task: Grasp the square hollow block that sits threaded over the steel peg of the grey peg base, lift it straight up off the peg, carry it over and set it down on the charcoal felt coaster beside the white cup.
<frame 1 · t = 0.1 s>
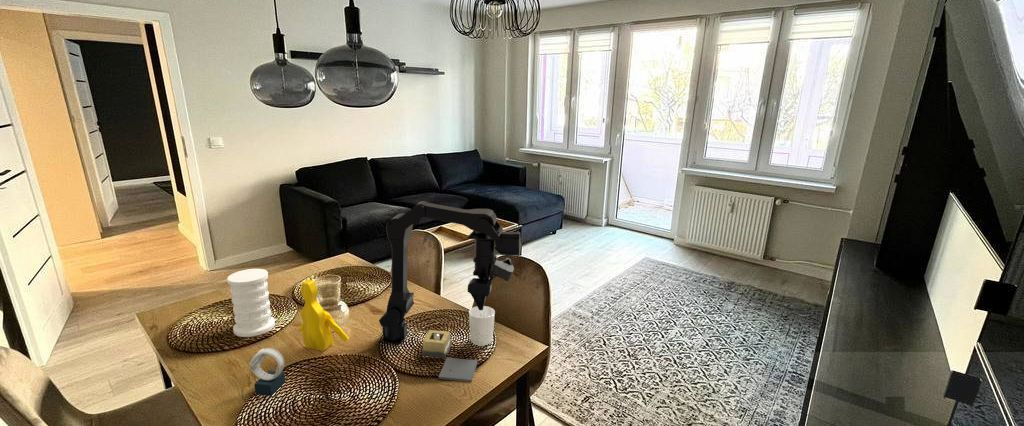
hand: (483, 302, 129), 15 cm above the table, tool pointing down, fingers open, 9 cm apart
white ring sculpture: (270, 389, 111), on the table
white cup: (481, 341, 136), on the table
decorative container: (254, 328, 139), on the table
figure statuette: (320, 347, 130), on the table
grey peg base: (436, 351, 129), on the table
square hollow block: (436, 345, 129), point 2 cm above the table, touching grey peg base
felt coaster: (458, 370, 121), on the table
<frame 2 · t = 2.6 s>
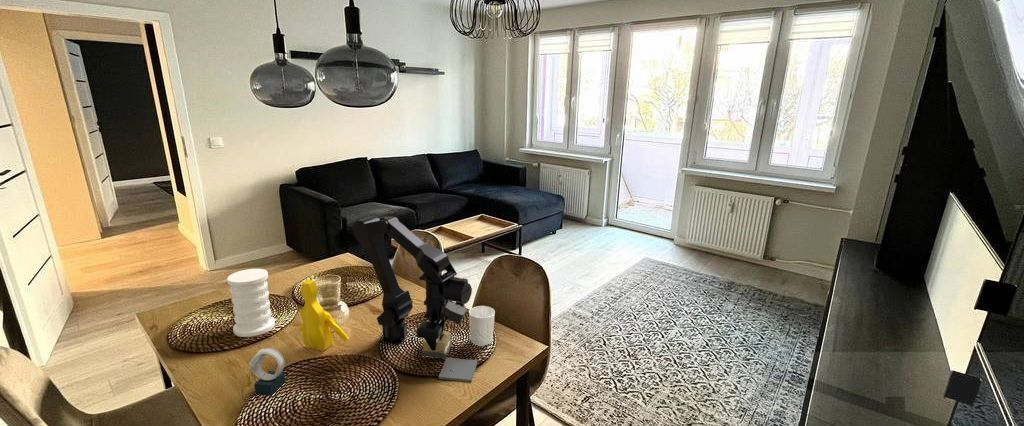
hand: (436, 343, 129), 3 cm above the table, tool pointing down, fingers closed on square hollow block, 6 cm apart
square hollow block: (436, 345, 129), point 2 cm above the table, touching gripper, grey peg base
everything else where it was.
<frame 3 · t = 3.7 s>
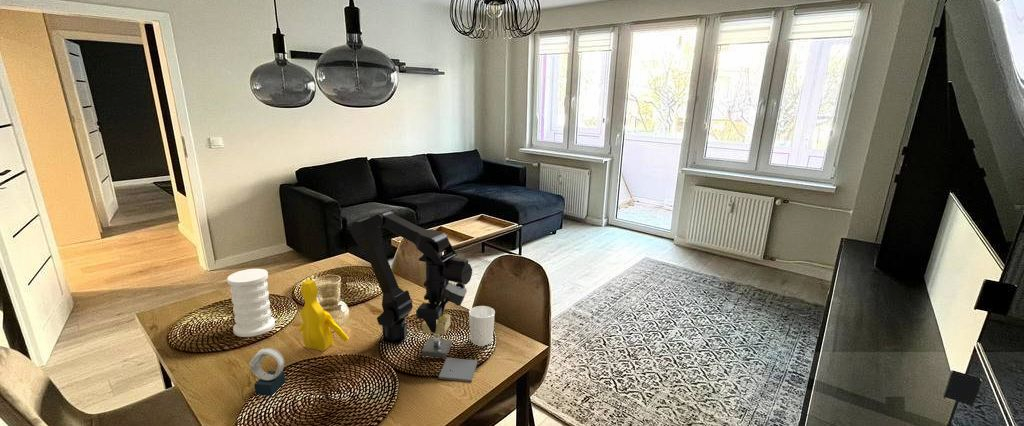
hand: (436, 326, 127), 8 cm above the table, tool pointing down, fingers closed on square hollow block, 6 cm apart
square hollow block: (436, 328, 127), point 8 cm above the table, touching gripper
everything else where it was.
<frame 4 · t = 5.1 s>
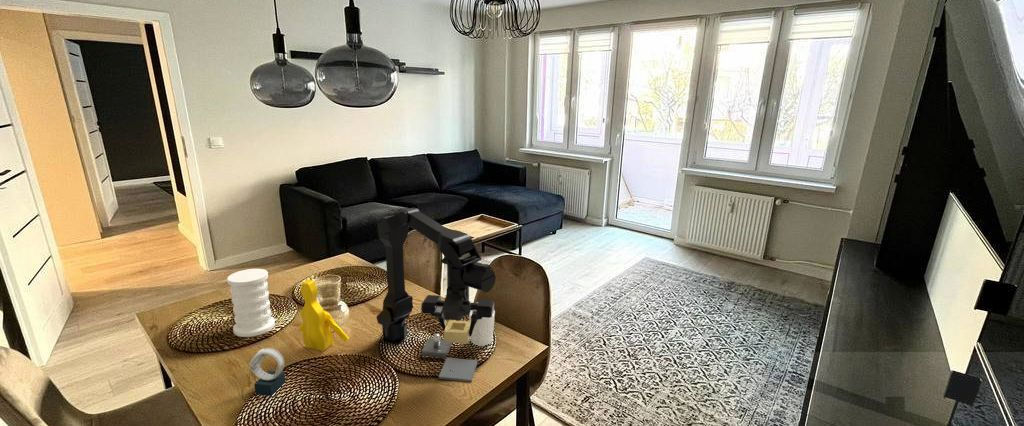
hand: (458, 334, 118), 11 cm above the table, tool pointing down, fingers closed on square hollow block, 6 cm apart
square hollow block: (458, 336, 118), point 11 cm above the table, touching gripper
everything else where it was.
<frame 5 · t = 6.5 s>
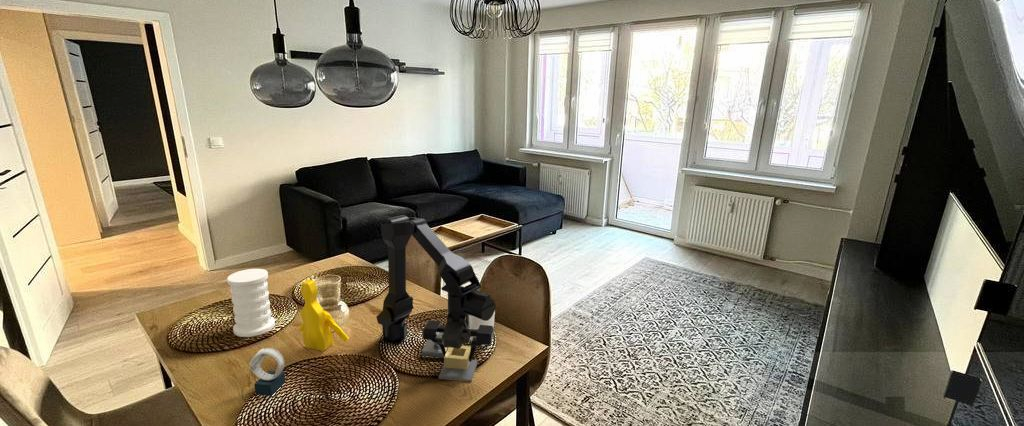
hand: (458, 359, 120), 3 cm above the table, tool pointing down, fingers closed on square hollow block, 6 cm apart
square hollow block: (458, 361, 120), point 3 cm above the table, touching gripper
everything else where it was.
when the fingers open (2 cm above the table, at t = 7.6 s): square hollow block drops 1 cm, resting on felt coaster.
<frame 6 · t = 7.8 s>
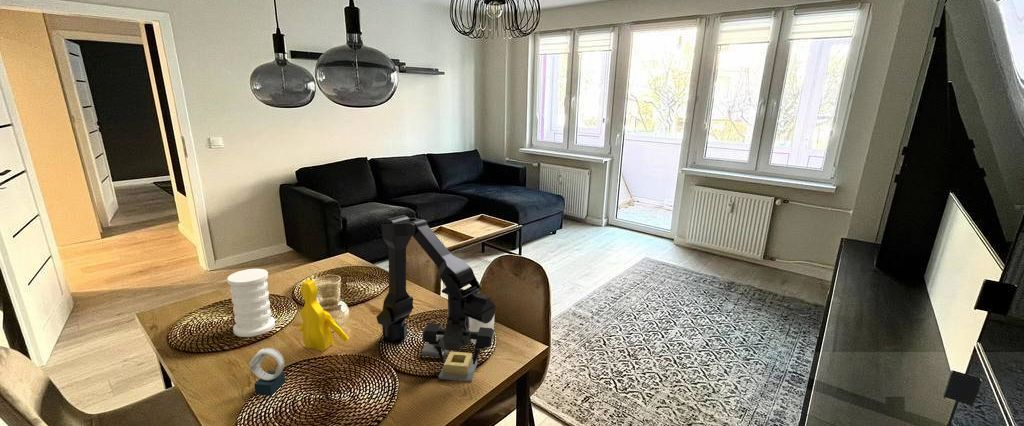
hand: (458, 362, 120), 2 cm above the table, tool pointing down, fingers open, 8 cm apart
square hollow block: (458, 368, 121), point 1 cm above the table, touching felt coaster
everything else where it was.
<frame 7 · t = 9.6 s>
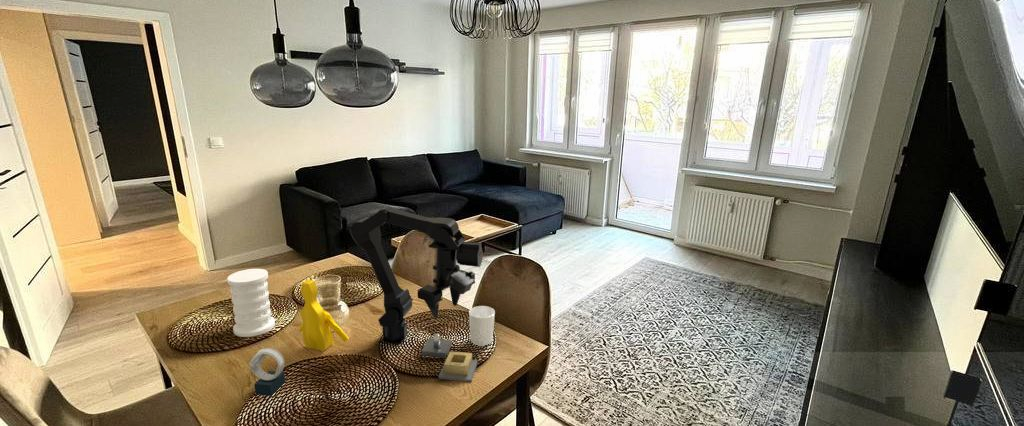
hand: (445, 311, 130), 11 cm above the table, tool pointing down, fingers open, 9 cm apart
nothing on the table moved.
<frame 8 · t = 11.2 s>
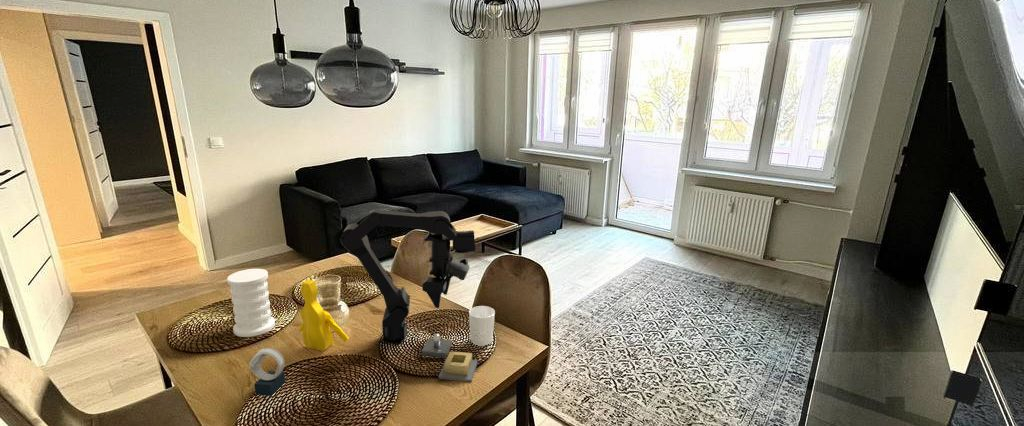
hand: (441, 300, 135), 12 cm above the table, tool pointing down, fingers open, 9 cm apart
nothing on the table moved.
at the end: square hollow block inside the target area on the felt coaster (0.0 cm from its centre), point 0.6 cm above the felt coaster's base; square hollow block touching felt coaster; the gripper is holding nothing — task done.
